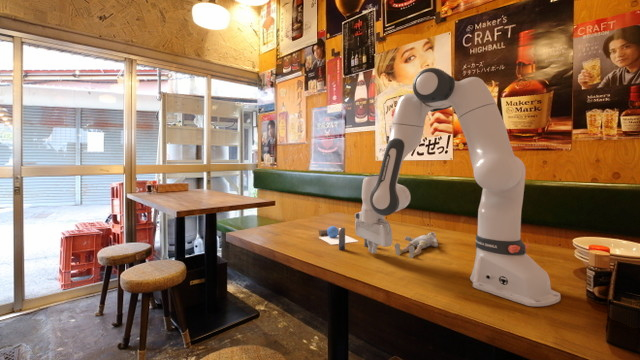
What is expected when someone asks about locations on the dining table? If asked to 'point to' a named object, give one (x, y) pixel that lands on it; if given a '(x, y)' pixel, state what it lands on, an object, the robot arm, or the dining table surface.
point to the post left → (341, 238)
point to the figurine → (417, 244)
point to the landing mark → (337, 240)
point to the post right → (365, 243)
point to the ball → (332, 231)
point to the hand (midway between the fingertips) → (372, 252)
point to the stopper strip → (323, 232)
